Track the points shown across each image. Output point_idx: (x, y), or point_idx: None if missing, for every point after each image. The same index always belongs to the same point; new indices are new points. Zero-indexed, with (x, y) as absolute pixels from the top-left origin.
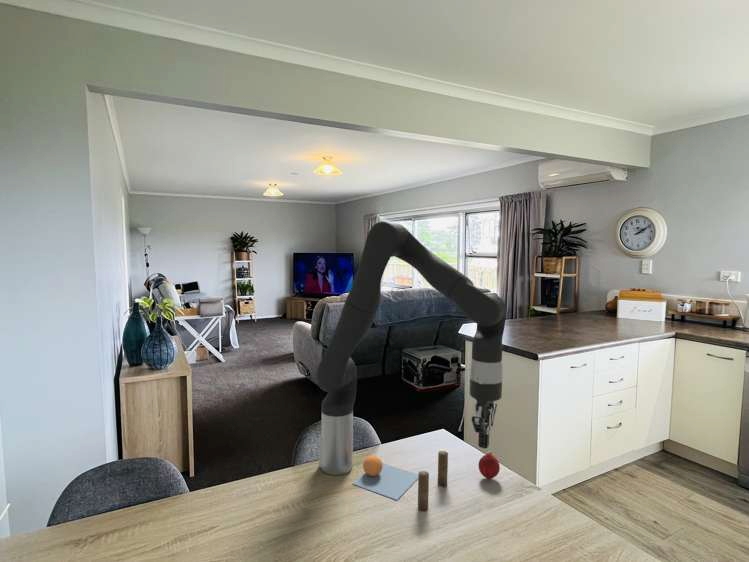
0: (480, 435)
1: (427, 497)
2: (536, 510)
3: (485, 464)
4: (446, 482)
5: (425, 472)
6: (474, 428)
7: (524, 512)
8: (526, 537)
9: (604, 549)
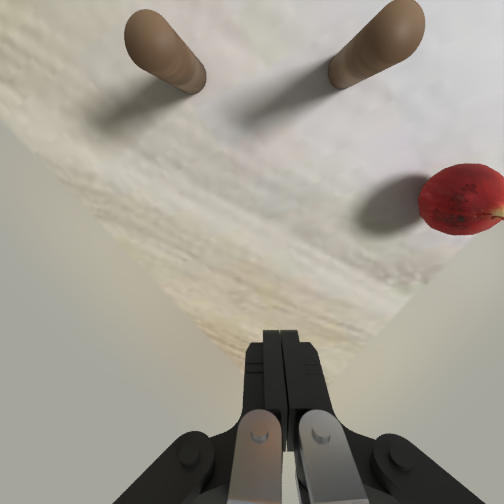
0: (244, 408)
1: (179, 87)
2: (336, 312)
3: (444, 201)
4: (342, 86)
5: (165, 44)
6: (121, 496)
7: (317, 296)
8: (239, 313)
9: None
